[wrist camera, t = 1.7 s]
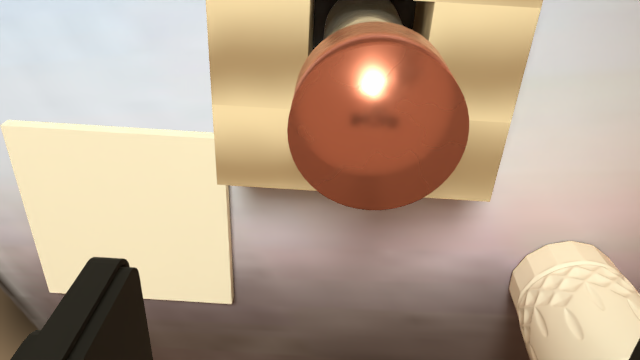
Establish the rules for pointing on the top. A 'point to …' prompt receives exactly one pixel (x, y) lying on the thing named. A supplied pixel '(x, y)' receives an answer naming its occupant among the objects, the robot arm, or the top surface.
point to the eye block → (296, 45)
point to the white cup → (575, 304)
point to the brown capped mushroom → (375, 111)
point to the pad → (126, 205)
